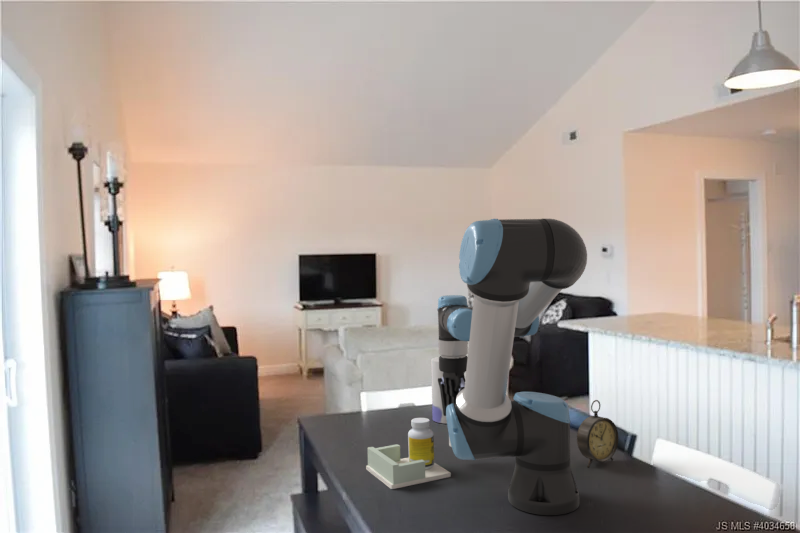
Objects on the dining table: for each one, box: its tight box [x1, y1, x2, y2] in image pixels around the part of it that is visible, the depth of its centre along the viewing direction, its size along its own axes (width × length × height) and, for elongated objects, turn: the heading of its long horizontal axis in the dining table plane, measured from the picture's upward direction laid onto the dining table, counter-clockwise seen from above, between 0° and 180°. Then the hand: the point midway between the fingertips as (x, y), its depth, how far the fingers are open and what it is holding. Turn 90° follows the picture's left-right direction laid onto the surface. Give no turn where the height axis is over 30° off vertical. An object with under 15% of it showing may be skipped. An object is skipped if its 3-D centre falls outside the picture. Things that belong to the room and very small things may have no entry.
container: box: [430, 356, 447, 425], centre depth 200 cm, size 10×10×20 cm
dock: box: [365, 444, 452, 490], centre depth 154 cm, size 15×16×6 cm
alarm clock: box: [576, 399, 619, 468], centre depth 157 cm, size 11×5×16 cm, turn 119°
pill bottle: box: [407, 417, 435, 469], centre depth 155 cm, size 6×6×12 cm
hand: (455, 445), depth 160 cm, fingers closed
